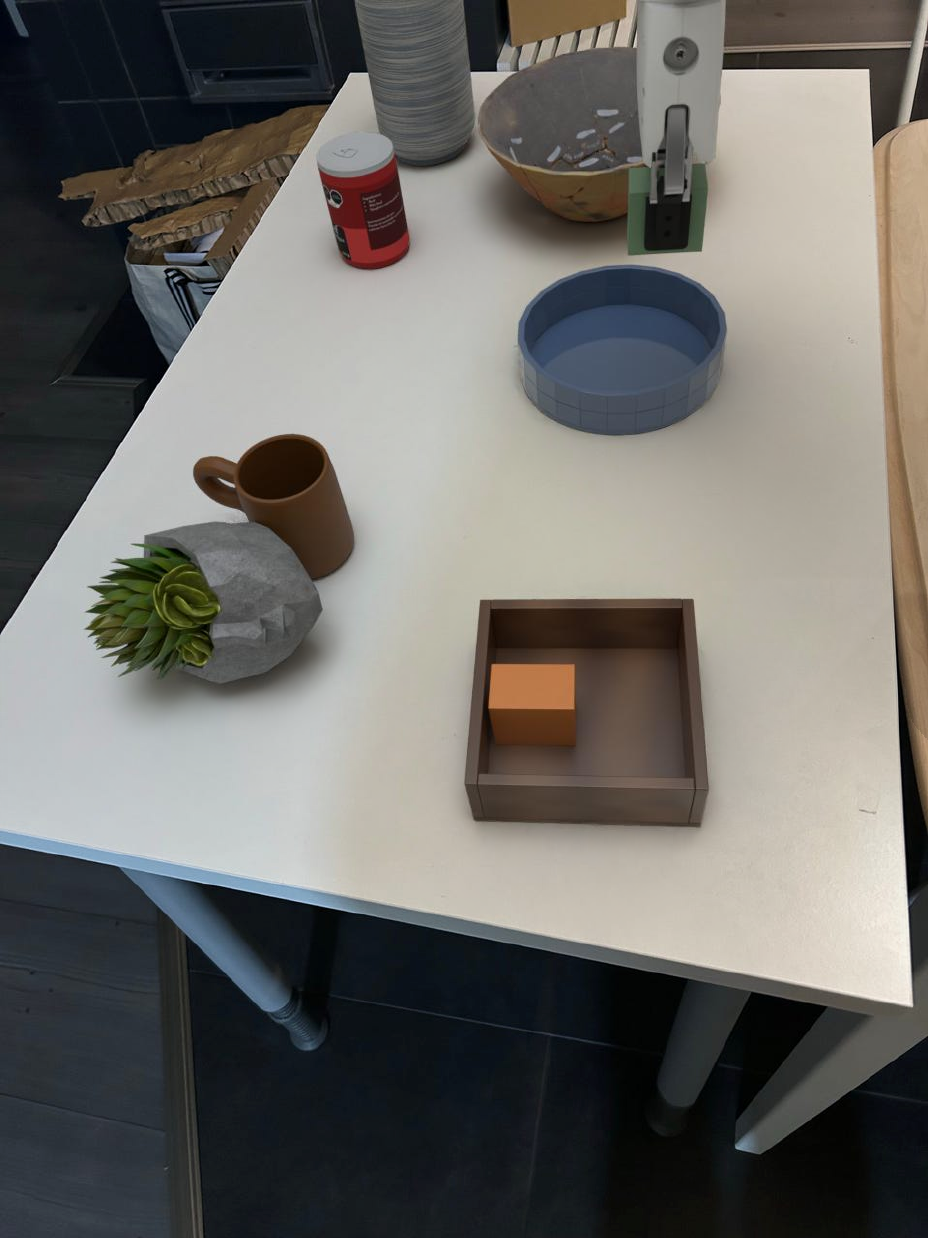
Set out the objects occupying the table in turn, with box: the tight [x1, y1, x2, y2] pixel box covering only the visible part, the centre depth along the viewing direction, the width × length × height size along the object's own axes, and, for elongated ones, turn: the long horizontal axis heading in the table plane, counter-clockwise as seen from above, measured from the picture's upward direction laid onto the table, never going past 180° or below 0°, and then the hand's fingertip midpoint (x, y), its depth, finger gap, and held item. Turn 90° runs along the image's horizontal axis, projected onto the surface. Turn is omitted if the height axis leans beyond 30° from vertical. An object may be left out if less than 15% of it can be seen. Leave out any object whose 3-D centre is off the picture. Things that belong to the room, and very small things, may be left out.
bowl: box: [477, 46, 722, 223], centre depth 98 cm, size 25×25×10 cm
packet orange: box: [489, 664, 576, 746], centre depth 62 cm, size 6×3×5 cm, turn 86°
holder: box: [463, 597, 710, 828], centre depth 61 cm, size 15×14×6 cm
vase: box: [353, 0, 476, 167], centre depth 103 cm, size 12×12×23 cm
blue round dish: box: [517, 264, 728, 436], centre depth 83 cm, size 18×18×4 cm
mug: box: [192, 433, 355, 580], centre depth 73 cm, size 12×8×9 cm, turn 74°
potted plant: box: [83, 520, 323, 685], centre depth 66 cm, size 12×13×15 cm
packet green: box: [626, 162, 709, 256], centre depth 69 cm, size 6×3×5 cm, turn 85°
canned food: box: [316, 131, 410, 270], centre depth 96 cm, size 8×8×11 cm
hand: (664, 229), depth 70 cm, fingers closed on packet green, 3 cm apart
